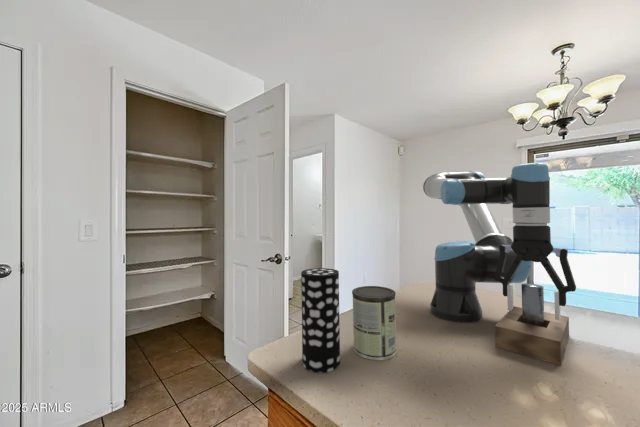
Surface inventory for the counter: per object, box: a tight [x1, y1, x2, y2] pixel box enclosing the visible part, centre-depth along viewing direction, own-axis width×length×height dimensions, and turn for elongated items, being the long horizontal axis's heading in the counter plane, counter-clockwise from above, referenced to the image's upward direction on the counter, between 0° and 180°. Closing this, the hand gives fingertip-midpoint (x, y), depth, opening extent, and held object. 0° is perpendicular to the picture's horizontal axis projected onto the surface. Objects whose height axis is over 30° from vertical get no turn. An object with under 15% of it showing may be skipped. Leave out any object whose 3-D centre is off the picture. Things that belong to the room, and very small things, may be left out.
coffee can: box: [351, 285, 397, 361], centre depth 65 cm, size 10×10×14 cm
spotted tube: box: [300, 267, 341, 374], centre depth 60 cm, size 8×8×20 cm
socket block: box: [494, 305, 570, 366], centre depth 69 cm, size 12×20×5 cm, turn 134°
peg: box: [520, 282, 545, 327], centre depth 69 cm, size 4×4×14 cm
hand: (533, 313), depth 69 cm, fingers open, 9 cm apart
